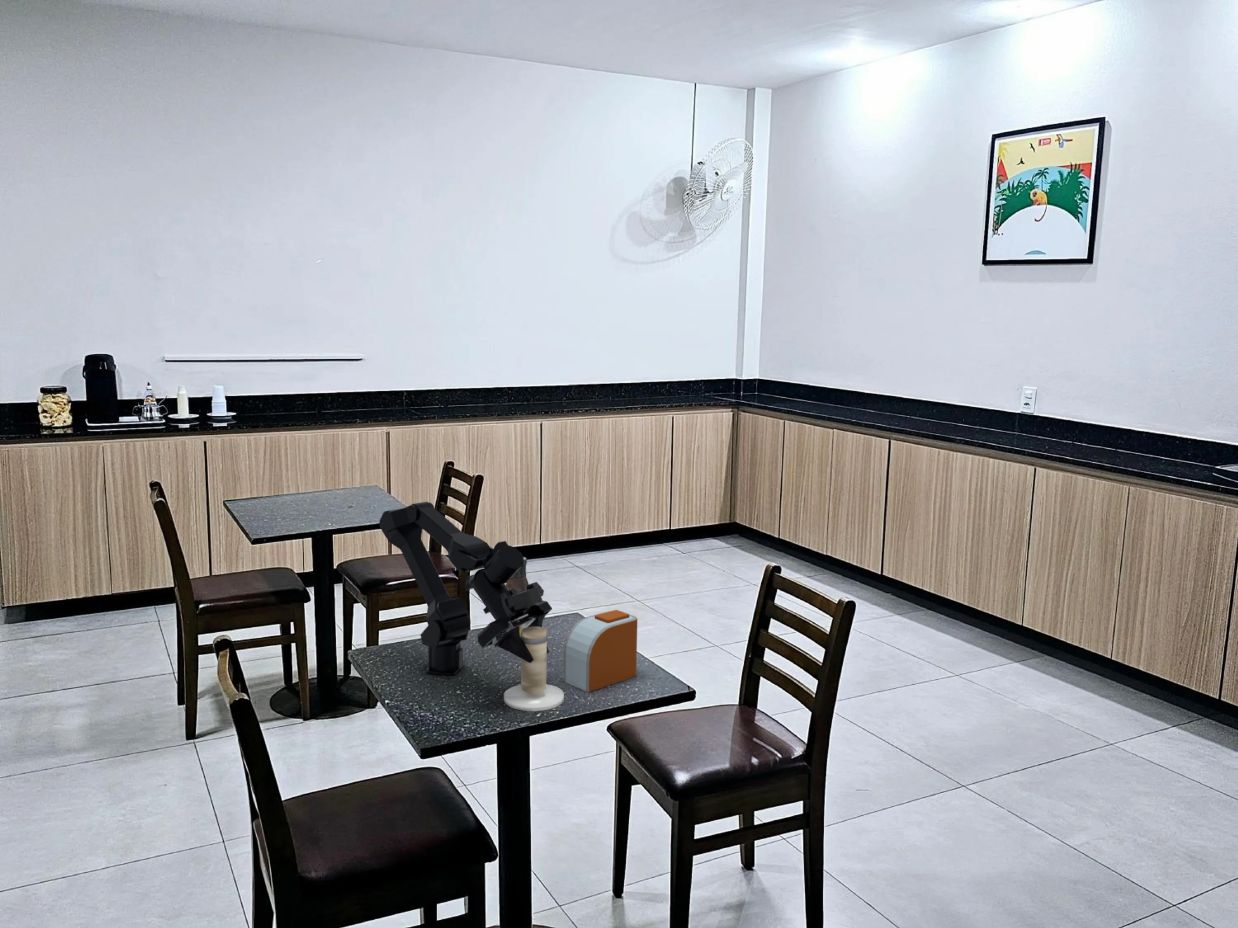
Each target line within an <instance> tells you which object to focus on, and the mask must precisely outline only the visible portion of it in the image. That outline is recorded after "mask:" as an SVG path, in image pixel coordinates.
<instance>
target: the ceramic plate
mask: <svg viewBox="0 0 1238 928" xmlns="http://www.w3.org/2000/svg"><path fill="white" fill-rule="evenodd" d="M564 698H565V694H564V691H563V690H562V689H561V688H559V687H557V686H556V685H551V684H548V683H546V689H545V690H544V691H542V692H537V693H530V692H525V691H523V690H522V689H521V684H518V685H514V686H512V687H510V688H508V689H506V690H505V692H504V693H503V702H504V704H505V705H506V706H508V707H510V708H511V709H514V710H517V711H525V712H541V711H547V710H552V709H554V708H557V707H559V706H560V705H562V704H563V703H564Z"/></svg>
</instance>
